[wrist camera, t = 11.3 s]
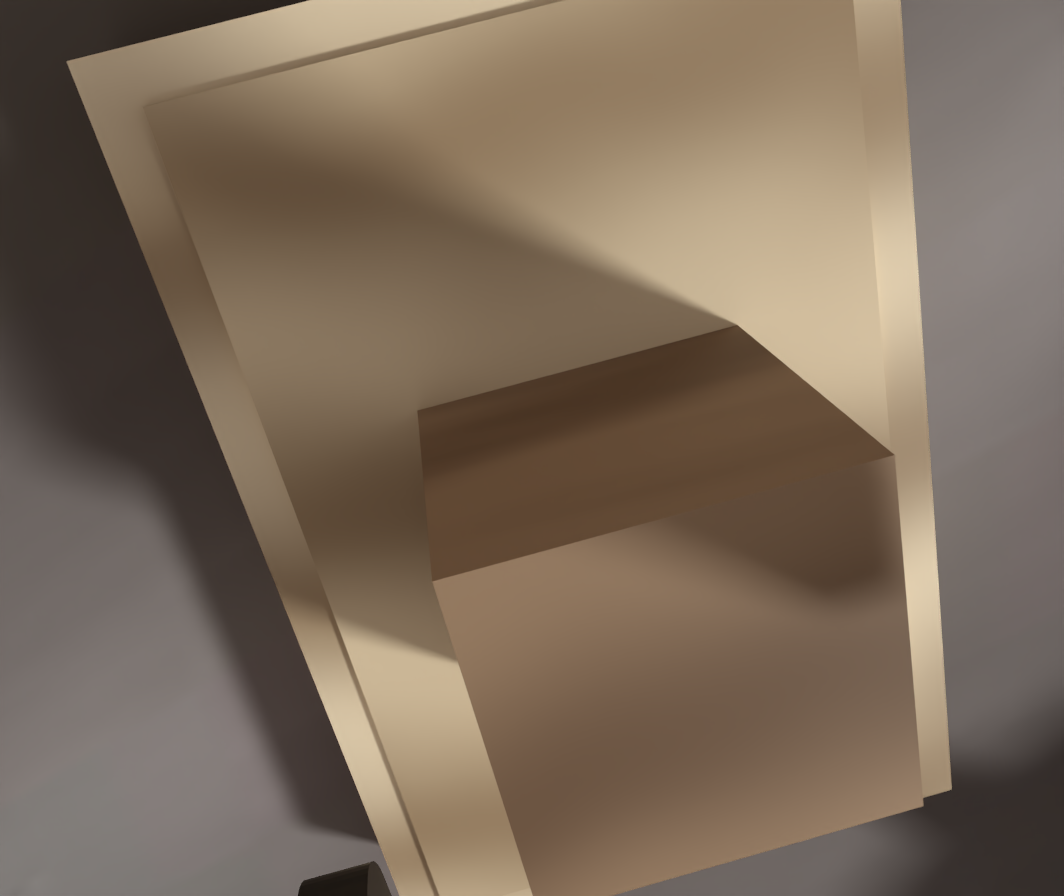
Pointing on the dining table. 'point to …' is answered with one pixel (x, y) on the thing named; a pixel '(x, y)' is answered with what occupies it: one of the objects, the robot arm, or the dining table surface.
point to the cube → (673, 610)
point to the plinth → (504, 294)
